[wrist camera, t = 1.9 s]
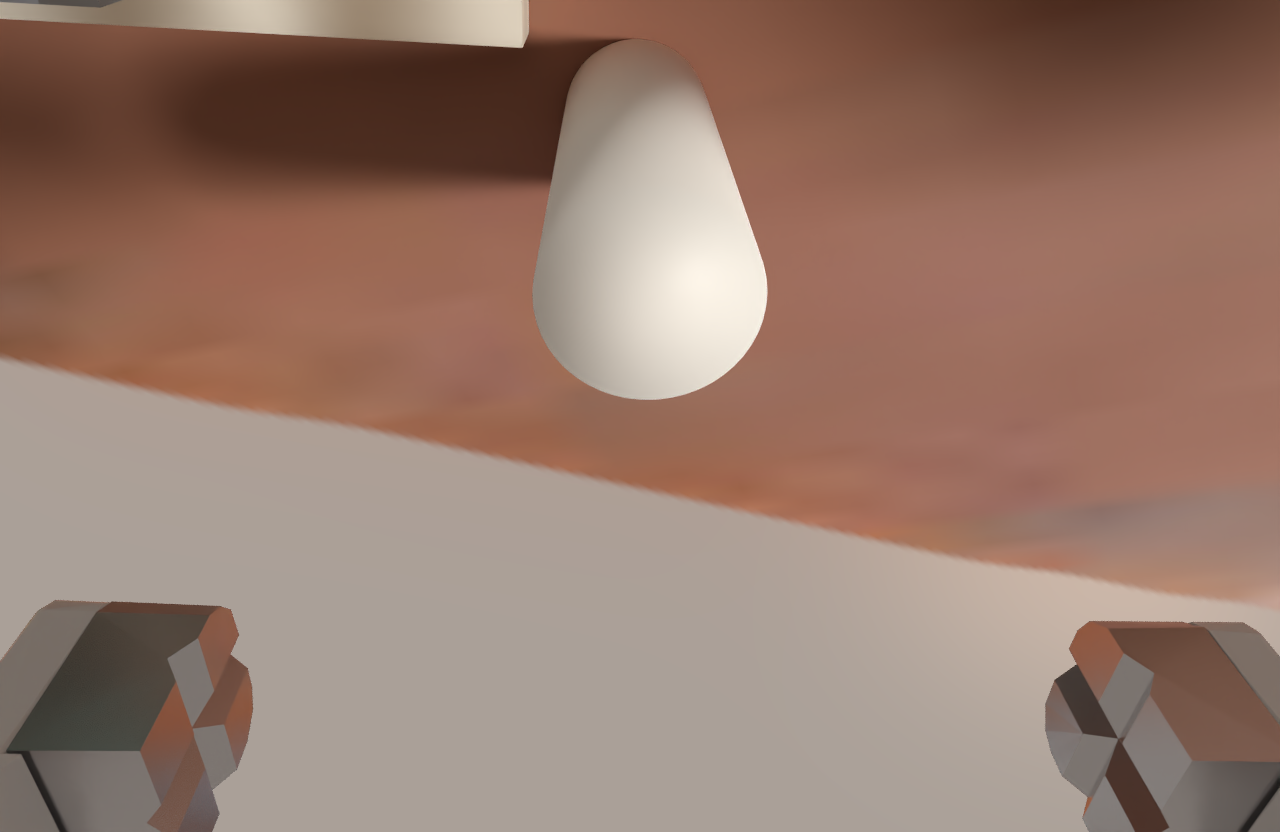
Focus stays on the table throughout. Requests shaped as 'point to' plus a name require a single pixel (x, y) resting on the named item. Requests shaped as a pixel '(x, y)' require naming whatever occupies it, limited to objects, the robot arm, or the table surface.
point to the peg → (645, 233)
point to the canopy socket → (302, 17)
